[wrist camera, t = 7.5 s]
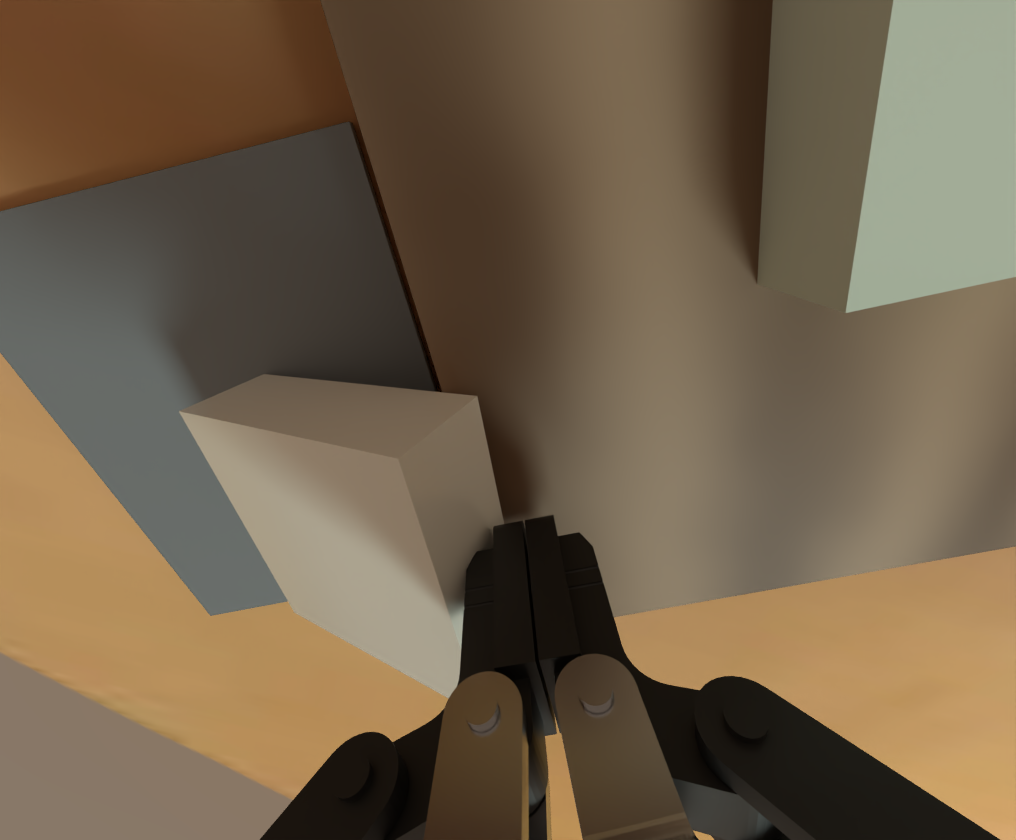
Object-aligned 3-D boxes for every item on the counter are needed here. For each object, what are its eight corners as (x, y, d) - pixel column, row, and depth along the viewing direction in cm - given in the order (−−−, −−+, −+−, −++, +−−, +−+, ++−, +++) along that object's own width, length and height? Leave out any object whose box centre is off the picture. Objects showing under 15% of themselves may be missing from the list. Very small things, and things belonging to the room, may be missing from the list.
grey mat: (352, 123, 11) (349, 121, 10) (490, 557, 18) (490, 563, 17) (-79, 234, 11) (-94, 235, 11) (214, 609, 18) (210, 615, 18)
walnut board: (1153, -322, 8) (1677, -731, 4) (926, 465, 16) (1047, 540, 13) (335, -86, 9) (236, -268, 5) (511, 544, 17) (517, 634, 14)
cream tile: (477, 395, 9) (398, 458, 7) (527, 636, 13) (483, 717, 11) (263, 373, 13) (178, 411, 11) (348, 561, 17) (294, 612, 15)
